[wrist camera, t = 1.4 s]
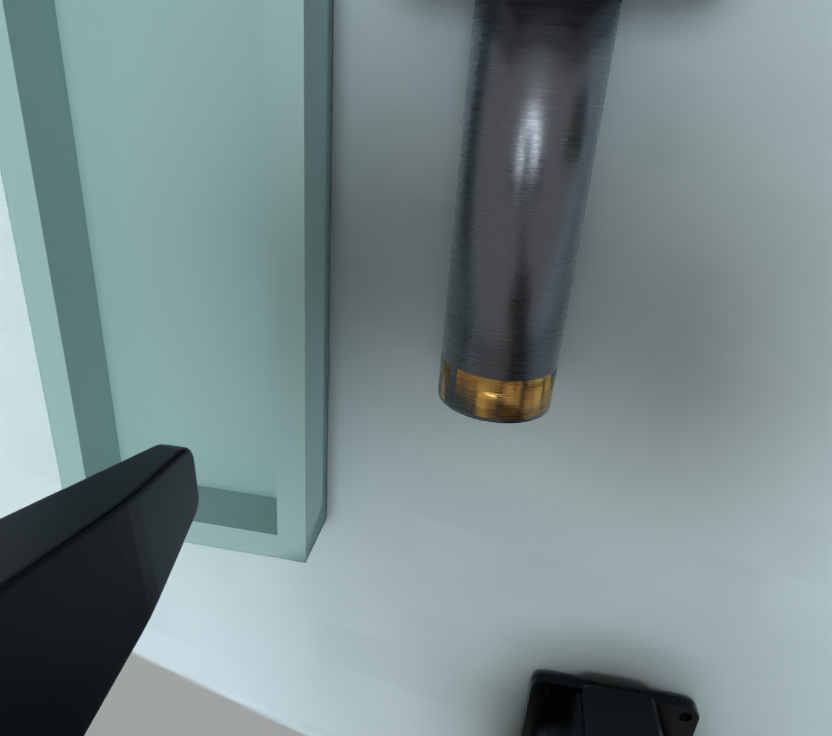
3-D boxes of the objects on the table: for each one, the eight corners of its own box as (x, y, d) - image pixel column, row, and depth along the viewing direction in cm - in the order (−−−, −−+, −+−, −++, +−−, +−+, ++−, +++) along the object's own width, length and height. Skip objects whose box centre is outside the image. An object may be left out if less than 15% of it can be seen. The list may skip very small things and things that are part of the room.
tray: (326, 519, 24) (305, 562, 22) (110, 484, 25) (69, 522, 23) (334, -118, 16) (303, -153, 14) (14, -129, 17) (-65, -165, 15)
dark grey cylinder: (556, 385, 20) (541, 433, 17) (455, 364, 21) (423, 407, 18) (655, -163, 14) (658, -234, 11) (509, -158, 15) (476, -223, 12)
